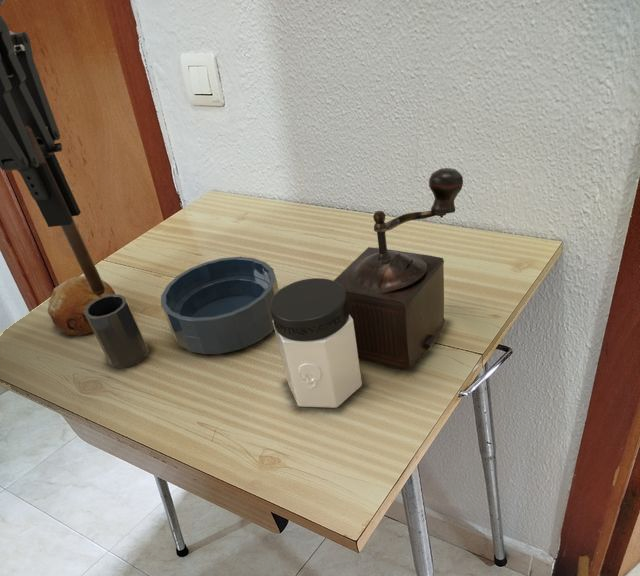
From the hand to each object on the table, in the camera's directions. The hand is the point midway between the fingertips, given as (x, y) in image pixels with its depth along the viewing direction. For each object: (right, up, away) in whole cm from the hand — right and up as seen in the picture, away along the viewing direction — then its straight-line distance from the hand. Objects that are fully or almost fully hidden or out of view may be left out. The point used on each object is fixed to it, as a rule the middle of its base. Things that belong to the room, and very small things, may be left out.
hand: (64, 219), depth 67 cm
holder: (+3, -14, +14) cm, 20 cm away
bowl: (+16, -9, +15) cm, 24 cm away
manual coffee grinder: (+40, -11, +9) cm, 42 cm away
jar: (+30, -19, +3) cm, 35 cm away
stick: (+2, -7, +7) cm, 10 cm away
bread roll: (-6, -7, +22) cm, 24 cm away
